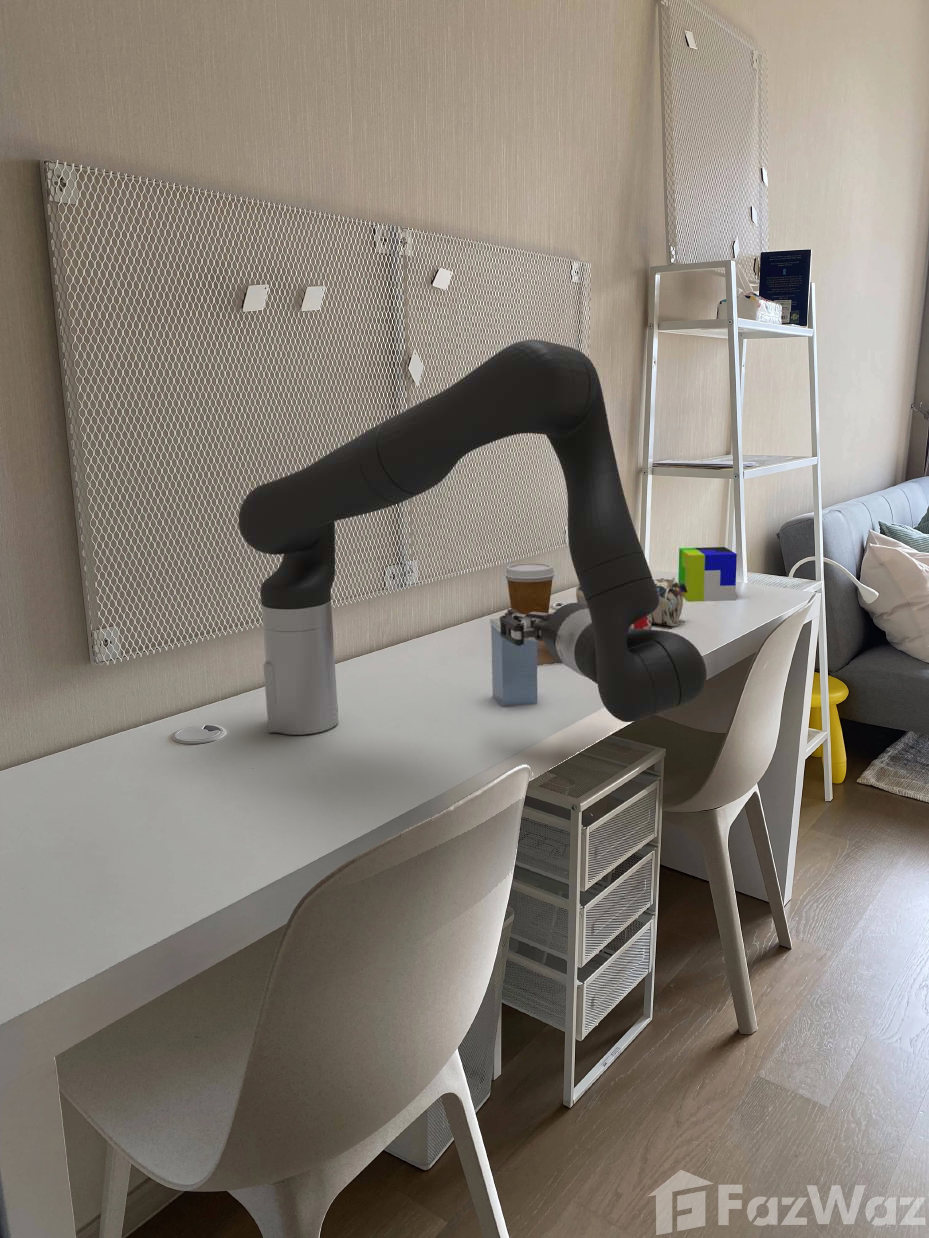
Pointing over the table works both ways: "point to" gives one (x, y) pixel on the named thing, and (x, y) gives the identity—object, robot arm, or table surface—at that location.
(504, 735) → the table surface
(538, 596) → the disposable coffee cup
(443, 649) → the table surface
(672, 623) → the pencil case
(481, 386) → the robot arm
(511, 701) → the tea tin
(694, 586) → the puzzle toy
